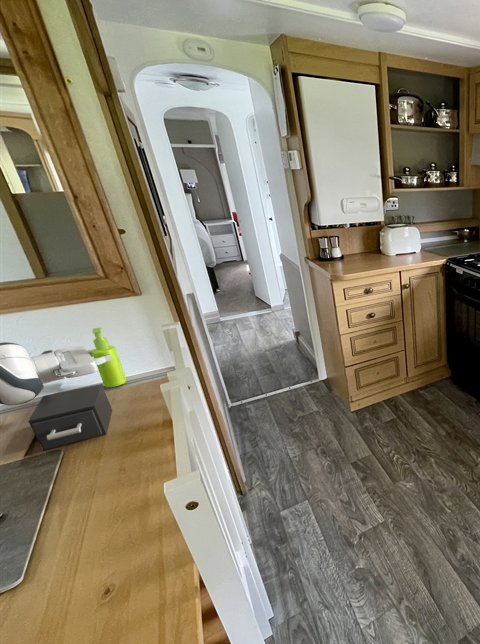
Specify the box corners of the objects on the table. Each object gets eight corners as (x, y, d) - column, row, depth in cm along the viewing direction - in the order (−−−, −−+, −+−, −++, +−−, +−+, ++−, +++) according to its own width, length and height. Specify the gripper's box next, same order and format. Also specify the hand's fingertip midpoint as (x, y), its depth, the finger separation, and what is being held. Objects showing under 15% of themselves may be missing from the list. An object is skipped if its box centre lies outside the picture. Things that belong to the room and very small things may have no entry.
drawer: (99, 442, 102) (89, 418, 100) (39, 458, 96) (27, 433, 93) (108, 412, 116) (99, 390, 113) (55, 424, 109) (45, 401, 106)
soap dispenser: (126, 376, 136) (108, 325, 129) (126, 383, 132) (107, 330, 125) (105, 381, 133) (85, 328, 126) (104, 389, 128) (83, 334, 121)
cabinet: (106, 434, 107) (94, 405, 103) (43, 451, 100) (28, 420, 97) (112, 410, 118) (101, 383, 114) (56, 424, 111) (42, 396, 107)
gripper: (52, 368, 112) (113, 353, 122) (43, 349, 123) (100, 337, 133) (60, 387, 114) (119, 371, 124) (51, 366, 126) (105, 353, 136)
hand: (109, 353), depth 129 cm, fingers closed on soap dispenser, 6 cm apart
